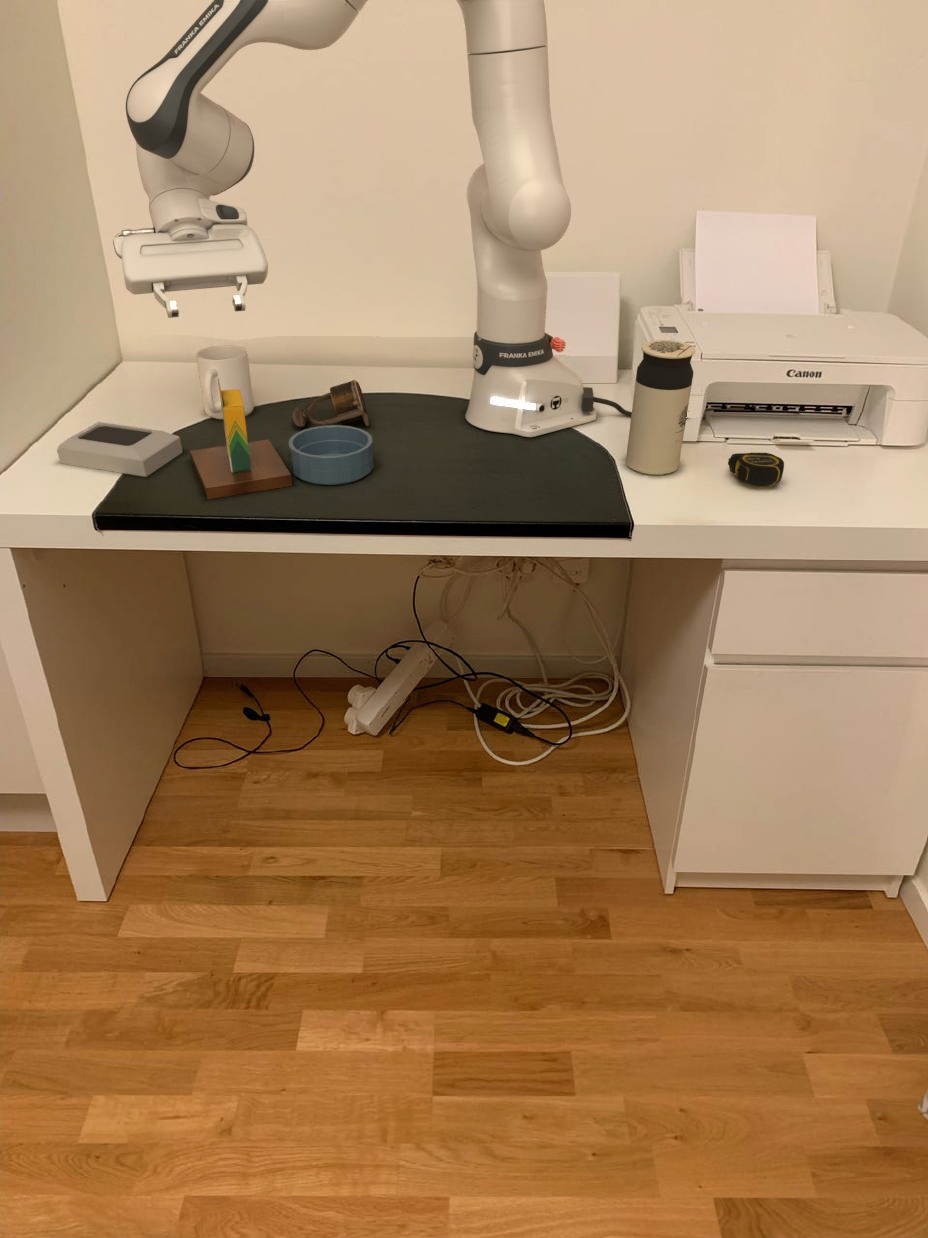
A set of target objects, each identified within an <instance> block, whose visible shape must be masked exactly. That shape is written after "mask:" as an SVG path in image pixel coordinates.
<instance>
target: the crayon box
mask: <svg viewBox="0 0 928 1238" xmlns="http://www.w3.org/2000/svg"><path fill="white" fill-rule="evenodd" d="M218 385H219V391H220V398H221V406H222V413H223V419H222V420H223V428H224V434H225V435H224V436H225V442H226V444H225V445H226V446H227V451H228V457H229V463H230V468H231V472H232V473H233V472H243V471H251V463H250V455H249V447H248V442H249V440H248V439H249V437H248V430H247V423H246V416H245V412H244V404H243V401H242V397H241V393H240V390H239V389H233V390H222V391H221V388H220V383H219V379H218Z"/></svg>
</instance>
